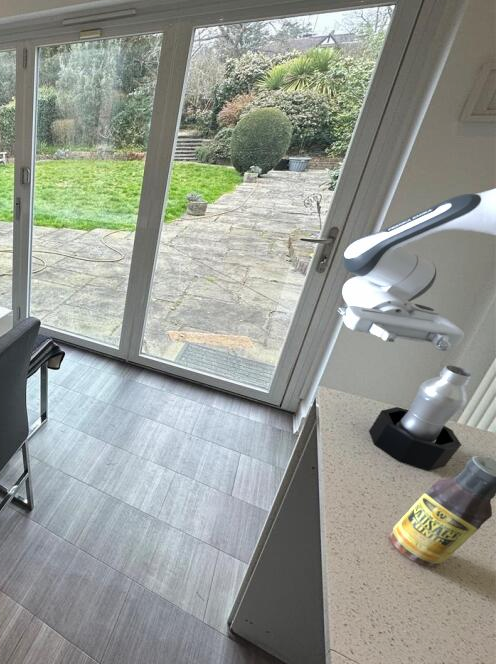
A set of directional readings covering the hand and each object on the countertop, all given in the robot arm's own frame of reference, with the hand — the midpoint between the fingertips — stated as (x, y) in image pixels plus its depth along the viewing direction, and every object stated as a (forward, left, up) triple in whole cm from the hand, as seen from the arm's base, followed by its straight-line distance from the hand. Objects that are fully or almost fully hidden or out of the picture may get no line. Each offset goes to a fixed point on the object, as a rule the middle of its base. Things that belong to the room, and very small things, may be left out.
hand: (418, 343), depth 87 cm
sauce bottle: (+31, +26, -19) cm, 45 cm away
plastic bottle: (+7, +10, -19) cm, 22 cm away
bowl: (+7, +10, -19) cm, 22 cm away
